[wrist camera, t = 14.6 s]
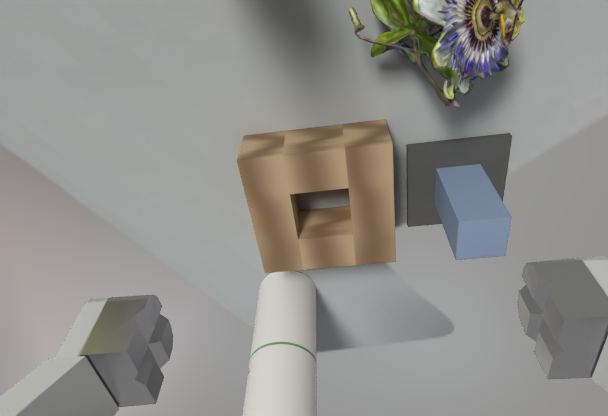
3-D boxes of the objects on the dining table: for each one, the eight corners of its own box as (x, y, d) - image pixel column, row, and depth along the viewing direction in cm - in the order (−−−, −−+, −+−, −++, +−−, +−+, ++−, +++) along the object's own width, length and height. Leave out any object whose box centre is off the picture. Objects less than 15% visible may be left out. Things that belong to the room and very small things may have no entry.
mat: (509, 133, 45) (511, 136, 45) (498, 214, 51) (500, 218, 50) (406, 144, 46) (407, 147, 46) (407, 223, 52) (408, 226, 51)
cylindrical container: (257, 307, 60) (228, 525, 40) (261, 267, 56) (232, 488, 36) (311, 312, 61) (310, 531, 40) (319, 273, 56) (323, 495, 36)
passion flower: (457, -20, 42) (551, 59, 37) (364, 61, 45) (438, 146, 39) (431, -127, 33) (553, -42, 27) (314, -17, 35) (403, 82, 29)
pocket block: (385, 119, 45) (392, 143, 40) (389, 232, 53) (395, 261, 48) (243, 135, 46) (236, 160, 42) (268, 243, 54) (265, 273, 50)
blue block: (480, 164, 47) (511, 217, 39) (476, 199, 49) (505, 255, 42) (436, 168, 47) (458, 221, 40) (434, 203, 49) (455, 259, 42)
